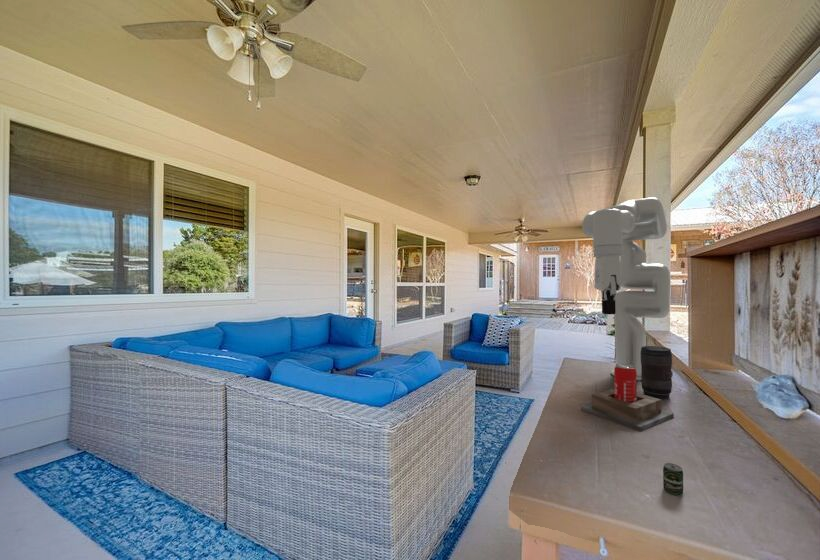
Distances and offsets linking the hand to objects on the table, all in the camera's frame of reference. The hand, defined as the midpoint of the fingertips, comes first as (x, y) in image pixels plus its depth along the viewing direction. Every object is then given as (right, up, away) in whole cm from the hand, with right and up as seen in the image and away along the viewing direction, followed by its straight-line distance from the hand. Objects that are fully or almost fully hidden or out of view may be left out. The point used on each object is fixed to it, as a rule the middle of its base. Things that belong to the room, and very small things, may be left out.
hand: (608, 313), depth 105 cm
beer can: (-12, -28, -42) cm, 52 cm away
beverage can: (0, -26, -7) cm, 27 cm away
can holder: (0, -27, -8) cm, 28 cm away
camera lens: (+18, -26, +6) cm, 32 cm away
